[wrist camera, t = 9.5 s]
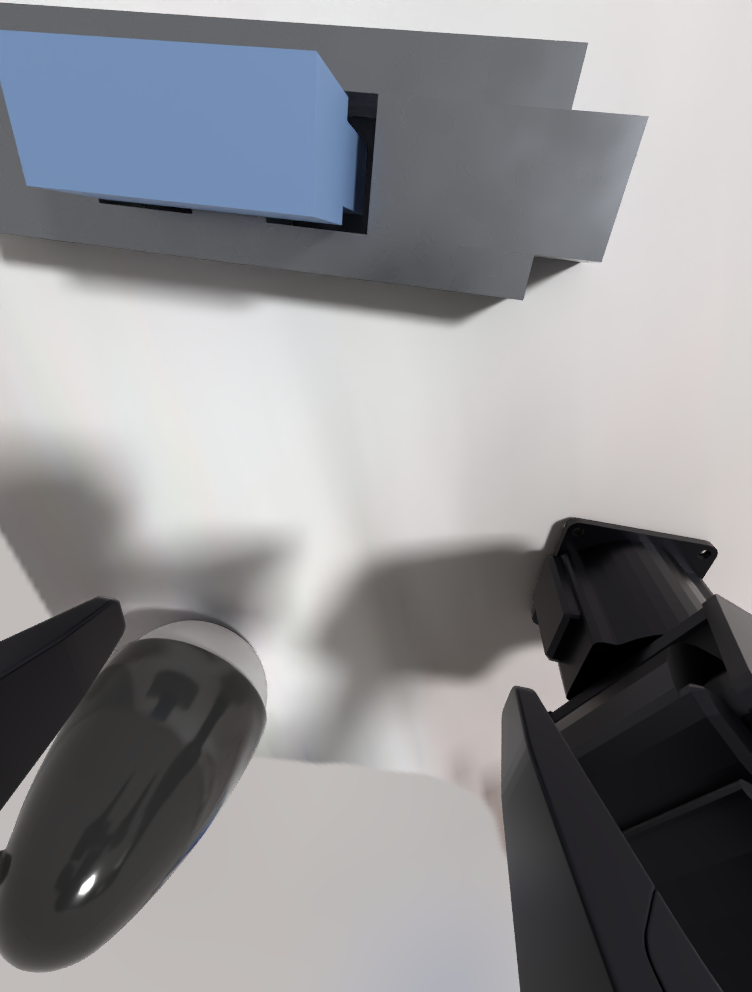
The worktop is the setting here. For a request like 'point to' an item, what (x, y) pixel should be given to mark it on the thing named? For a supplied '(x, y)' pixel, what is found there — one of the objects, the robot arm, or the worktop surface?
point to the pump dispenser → (128, 790)
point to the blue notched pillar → (183, 125)
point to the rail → (383, 158)
